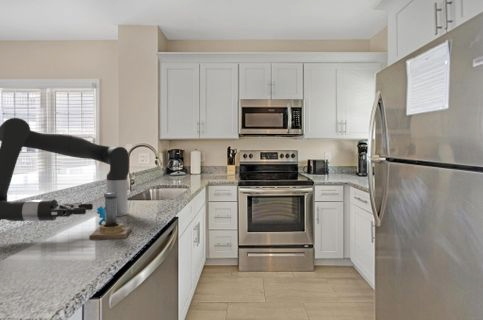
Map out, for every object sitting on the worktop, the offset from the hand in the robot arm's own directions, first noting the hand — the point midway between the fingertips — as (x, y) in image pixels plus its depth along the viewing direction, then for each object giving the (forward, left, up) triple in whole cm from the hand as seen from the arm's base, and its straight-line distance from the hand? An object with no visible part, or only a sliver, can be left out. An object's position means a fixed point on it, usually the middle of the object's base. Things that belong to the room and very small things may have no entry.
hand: (89, 208), depth 115 cm
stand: (0, +8, -10) cm, 13 cm away
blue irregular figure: (-19, +2, -10) cm, 21 cm away
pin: (0, +8, -8) cm, 11 cm away
